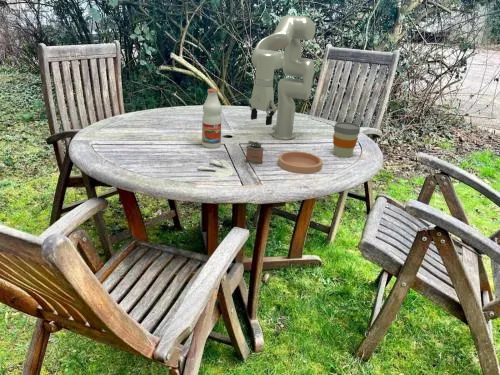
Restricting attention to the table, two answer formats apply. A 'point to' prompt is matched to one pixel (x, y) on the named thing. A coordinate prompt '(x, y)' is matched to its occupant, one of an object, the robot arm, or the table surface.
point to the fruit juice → (211, 120)
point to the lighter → (254, 153)
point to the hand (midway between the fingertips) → (261, 121)
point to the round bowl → (300, 162)
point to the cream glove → (219, 173)
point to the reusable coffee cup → (345, 138)
